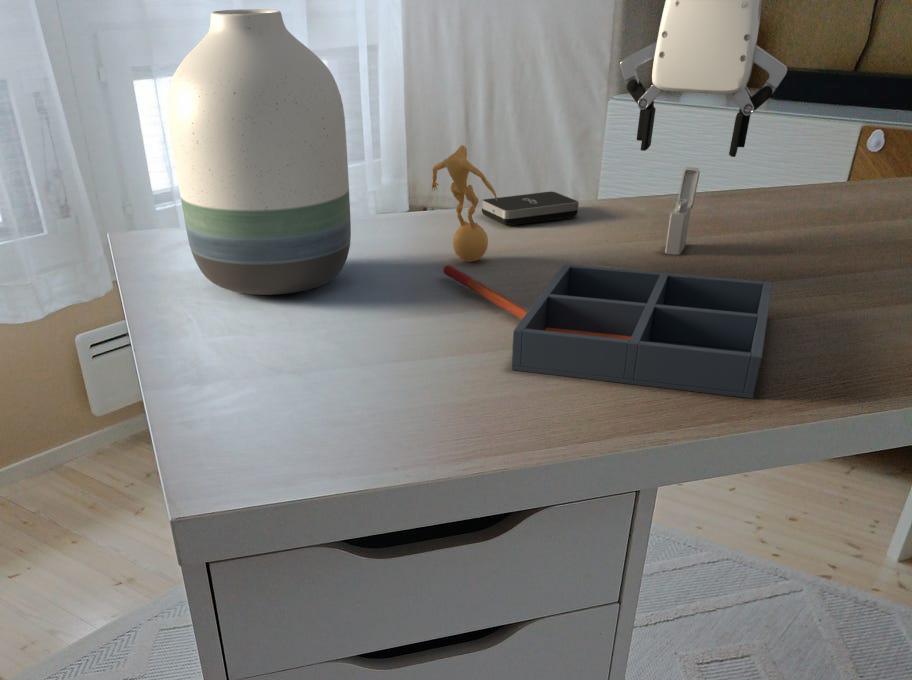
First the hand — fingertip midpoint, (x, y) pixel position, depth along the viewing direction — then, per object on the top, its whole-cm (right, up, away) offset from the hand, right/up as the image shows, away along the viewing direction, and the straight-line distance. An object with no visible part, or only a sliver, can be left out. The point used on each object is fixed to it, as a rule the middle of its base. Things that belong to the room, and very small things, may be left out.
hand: (688, 151), depth 102 cm
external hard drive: (-16, 0, +17) cm, 23 cm away
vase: (-46, -16, -4) cm, 49 cm away
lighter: (0, -8, +6) cm, 10 cm away
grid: (-9, -28, -19) cm, 35 cm away
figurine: (-25, -12, +1) cm, 28 cm away
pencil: (-23, -21, -11) cm, 33 cm away
